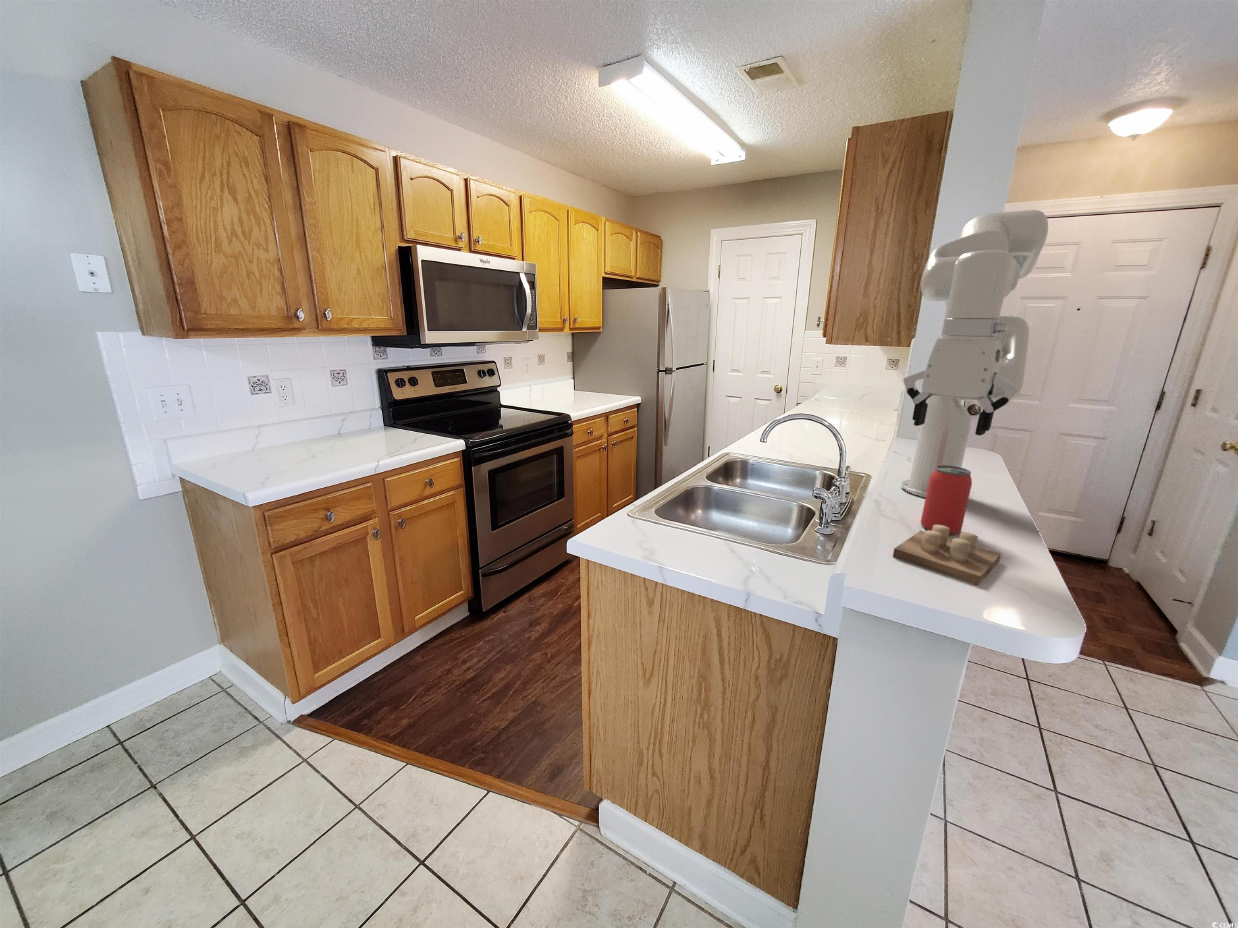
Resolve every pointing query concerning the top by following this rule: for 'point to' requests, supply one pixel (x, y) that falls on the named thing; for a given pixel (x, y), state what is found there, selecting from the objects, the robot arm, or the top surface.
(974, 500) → the top surface
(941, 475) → the beer can
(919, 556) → the peg stand
